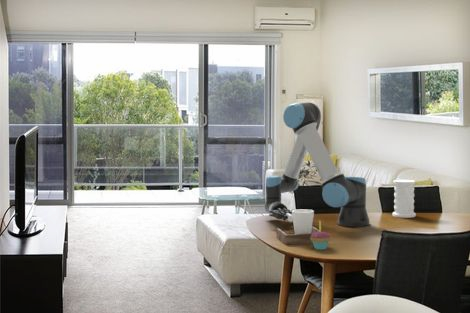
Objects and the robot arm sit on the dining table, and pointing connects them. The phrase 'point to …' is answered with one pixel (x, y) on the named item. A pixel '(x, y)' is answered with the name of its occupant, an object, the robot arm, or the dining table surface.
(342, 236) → the dining table surface
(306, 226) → the foam cup
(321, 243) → the cupcake
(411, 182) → the decorative container
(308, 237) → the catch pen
